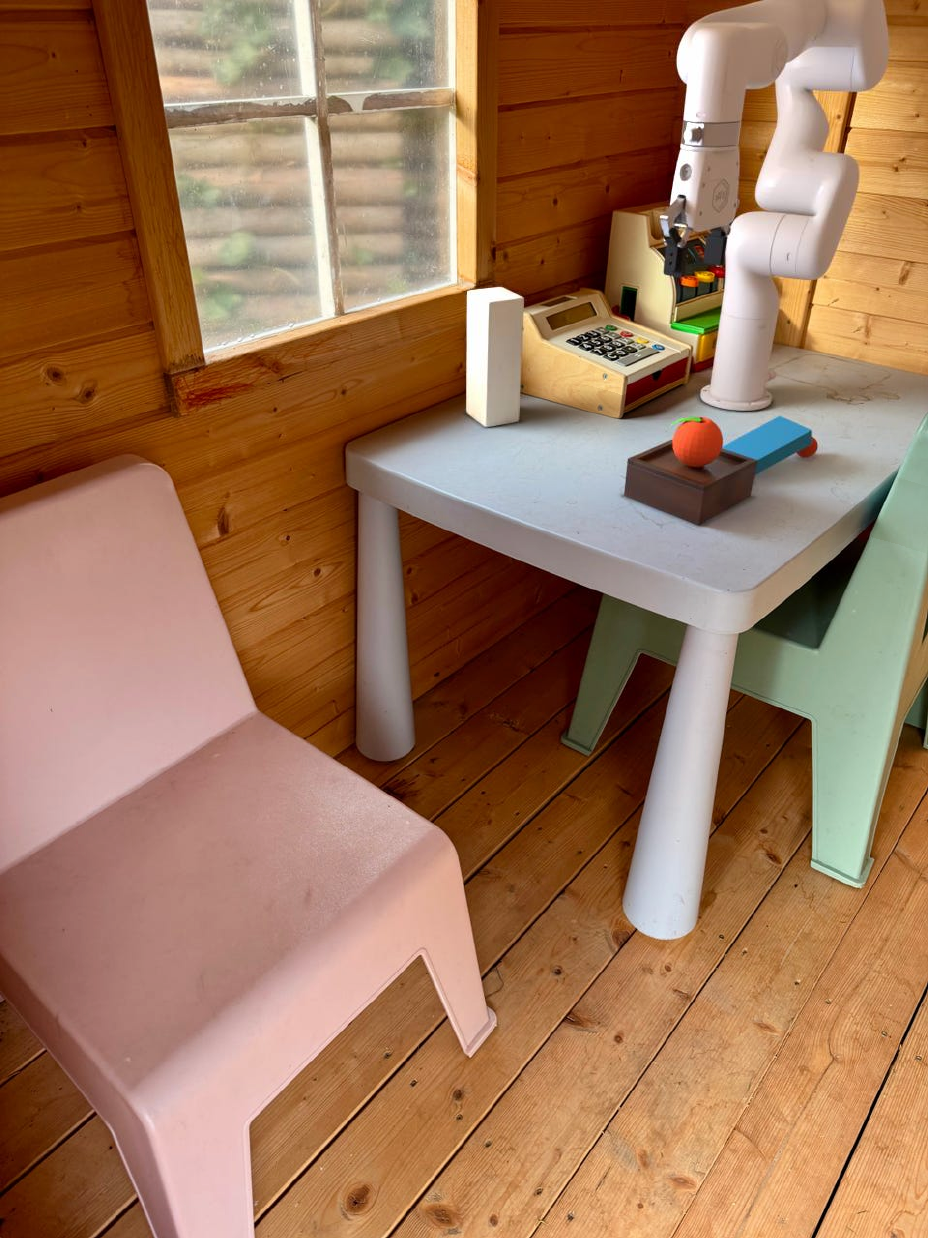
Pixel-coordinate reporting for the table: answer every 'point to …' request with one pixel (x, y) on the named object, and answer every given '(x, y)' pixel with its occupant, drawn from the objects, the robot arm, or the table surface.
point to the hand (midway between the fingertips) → (693, 269)
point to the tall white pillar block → (494, 355)
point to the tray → (689, 483)
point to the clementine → (697, 441)
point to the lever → (774, 443)
